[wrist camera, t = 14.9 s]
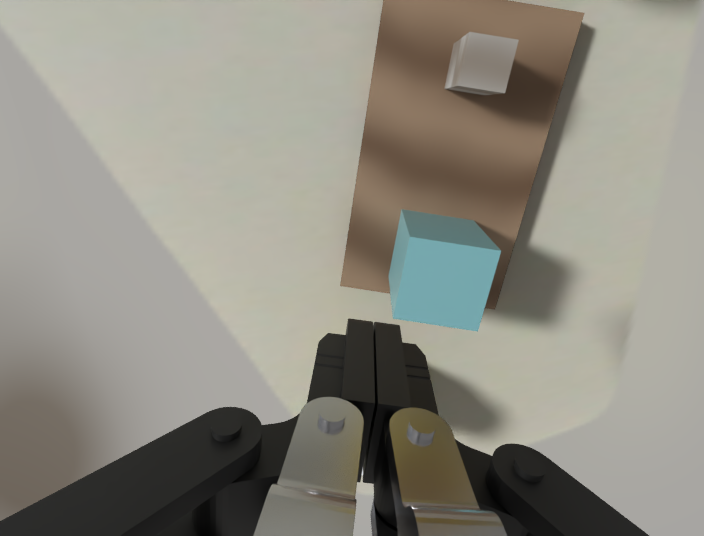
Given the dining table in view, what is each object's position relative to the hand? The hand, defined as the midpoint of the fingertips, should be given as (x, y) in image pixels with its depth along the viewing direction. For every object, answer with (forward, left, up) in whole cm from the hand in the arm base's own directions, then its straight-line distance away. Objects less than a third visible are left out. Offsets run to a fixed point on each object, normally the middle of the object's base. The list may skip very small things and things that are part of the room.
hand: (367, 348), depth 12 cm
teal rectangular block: (+2, +5, -19) cm, 20 cm away
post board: (-4, +5, -20) cm, 21 cm away
